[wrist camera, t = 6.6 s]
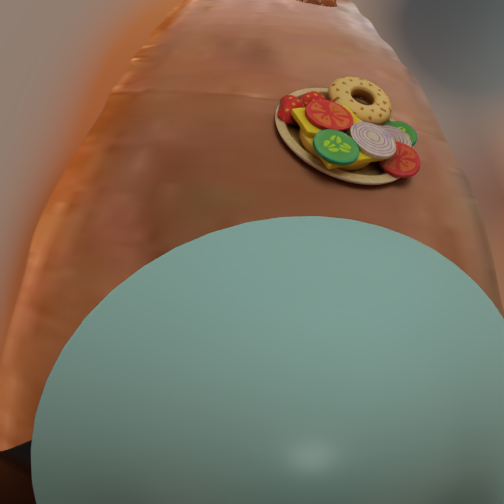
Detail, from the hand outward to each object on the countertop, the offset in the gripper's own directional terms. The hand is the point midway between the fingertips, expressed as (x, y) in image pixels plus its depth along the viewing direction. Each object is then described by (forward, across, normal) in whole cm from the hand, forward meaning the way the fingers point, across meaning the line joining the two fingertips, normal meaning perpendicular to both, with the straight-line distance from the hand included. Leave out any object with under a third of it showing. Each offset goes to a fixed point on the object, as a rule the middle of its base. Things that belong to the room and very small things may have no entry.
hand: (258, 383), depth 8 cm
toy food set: (+22, -6, -9) cm, 24 cm away
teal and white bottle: (+4, 0, +6) cm, 7 cm away
